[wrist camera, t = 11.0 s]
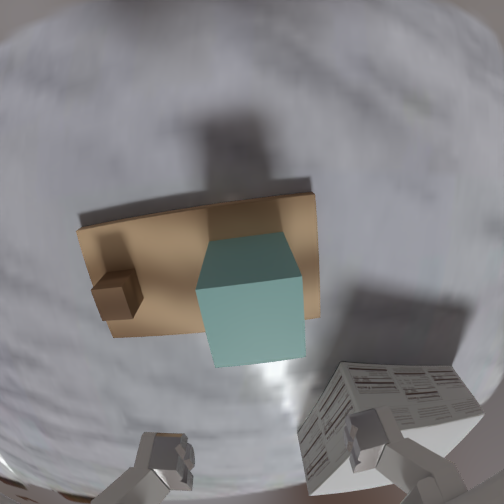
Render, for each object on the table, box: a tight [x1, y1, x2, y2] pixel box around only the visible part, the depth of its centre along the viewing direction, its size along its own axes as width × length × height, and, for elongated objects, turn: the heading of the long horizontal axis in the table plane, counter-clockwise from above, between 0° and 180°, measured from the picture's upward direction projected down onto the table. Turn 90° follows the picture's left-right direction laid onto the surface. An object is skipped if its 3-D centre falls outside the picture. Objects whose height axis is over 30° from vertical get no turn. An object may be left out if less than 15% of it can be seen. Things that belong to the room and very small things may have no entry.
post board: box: [76, 192, 320, 338], centre depth 20 cm, size 10×18×7 cm, turn 97°
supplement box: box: [298, 362, 485, 496], centre depth 26 cm, size 17×13×9 cm
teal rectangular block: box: [195, 232, 306, 368], centre depth 19 cm, size 5×5×7 cm
